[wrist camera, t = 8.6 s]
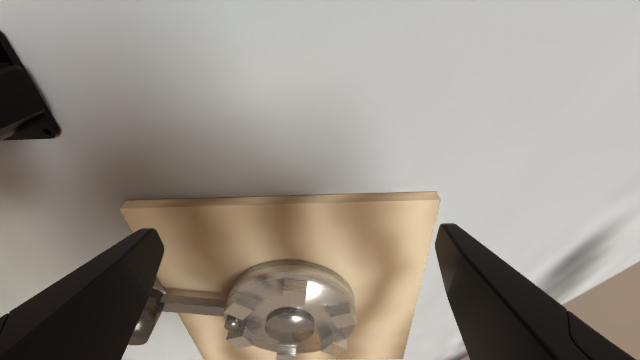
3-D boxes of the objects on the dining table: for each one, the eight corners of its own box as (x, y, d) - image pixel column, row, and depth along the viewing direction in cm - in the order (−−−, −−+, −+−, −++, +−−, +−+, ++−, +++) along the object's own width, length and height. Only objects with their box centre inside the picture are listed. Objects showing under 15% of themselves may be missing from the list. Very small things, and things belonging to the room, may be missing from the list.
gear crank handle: (366, 267, 25) (374, 315, 22) (342, 338, 32) (344, 384, 28) (122, 242, 24) (86, 289, 20) (150, 322, 31) (127, 368, 27)
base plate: (158, 352, 36) (150, 369, 35) (49, 202, 23) (28, 219, 21) (401, 350, 35) (404, 368, 34) (436, 191, 22) (445, 208, 20)
